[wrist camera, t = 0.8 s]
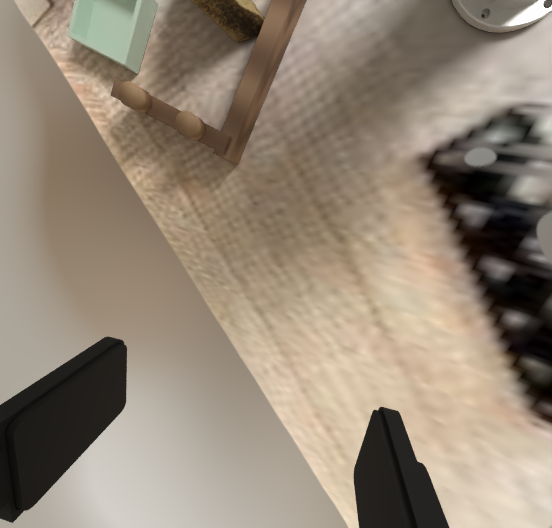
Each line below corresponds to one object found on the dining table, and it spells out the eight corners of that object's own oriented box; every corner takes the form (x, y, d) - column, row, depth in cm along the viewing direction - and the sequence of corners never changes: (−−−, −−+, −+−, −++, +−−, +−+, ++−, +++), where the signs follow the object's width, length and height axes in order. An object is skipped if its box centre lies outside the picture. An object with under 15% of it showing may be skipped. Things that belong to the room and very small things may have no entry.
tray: (100, -25, 33) (83, -43, 30) (157, 4, 33) (145, -12, 30) (84, 47, 35) (67, 35, 33) (138, 74, 35) (124, 65, 33)
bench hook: (195, -84, 30) (156, -173, 23) (317, -25, 29) (316, -97, 22) (137, 112, 36) (92, 91, 29) (237, 164, 36) (217, 156, 28)
